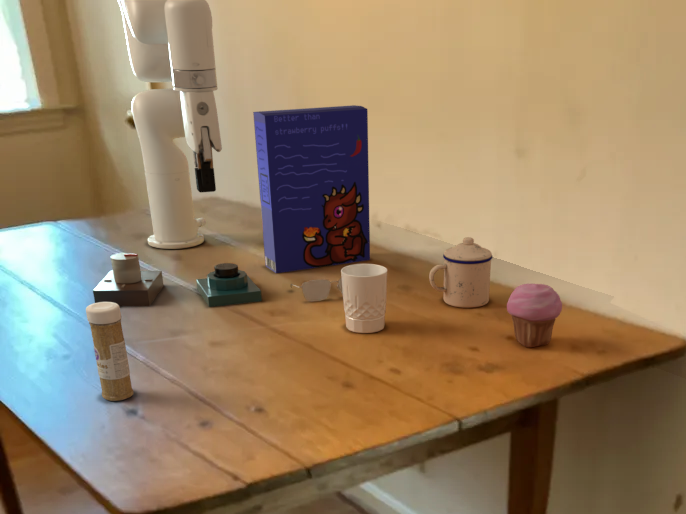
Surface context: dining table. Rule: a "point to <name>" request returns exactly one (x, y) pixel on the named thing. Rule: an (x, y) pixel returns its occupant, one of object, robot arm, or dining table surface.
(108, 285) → the dial panel
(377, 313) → the white cup
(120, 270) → the dial
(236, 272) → the black button
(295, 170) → the cereal box
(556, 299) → the cupcake
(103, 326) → the sprinkles bottle
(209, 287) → the button housing
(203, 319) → the dining table surface
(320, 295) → the eyeglasses
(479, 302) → the teacup with lid
